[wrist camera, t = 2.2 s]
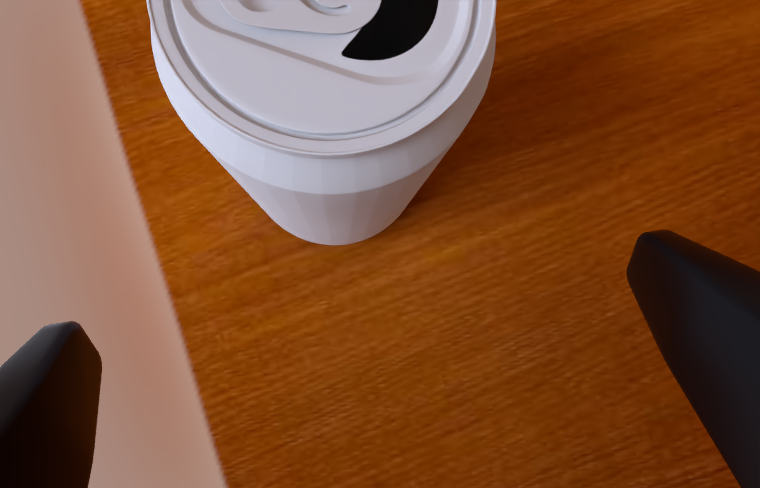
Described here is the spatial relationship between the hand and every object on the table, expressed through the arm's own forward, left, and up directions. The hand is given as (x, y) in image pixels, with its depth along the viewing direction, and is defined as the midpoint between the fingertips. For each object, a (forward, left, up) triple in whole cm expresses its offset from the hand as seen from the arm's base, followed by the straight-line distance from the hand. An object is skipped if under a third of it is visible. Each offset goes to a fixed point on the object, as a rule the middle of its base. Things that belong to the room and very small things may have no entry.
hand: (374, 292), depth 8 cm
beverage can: (+5, +2, -12) cm, 13 cm away
